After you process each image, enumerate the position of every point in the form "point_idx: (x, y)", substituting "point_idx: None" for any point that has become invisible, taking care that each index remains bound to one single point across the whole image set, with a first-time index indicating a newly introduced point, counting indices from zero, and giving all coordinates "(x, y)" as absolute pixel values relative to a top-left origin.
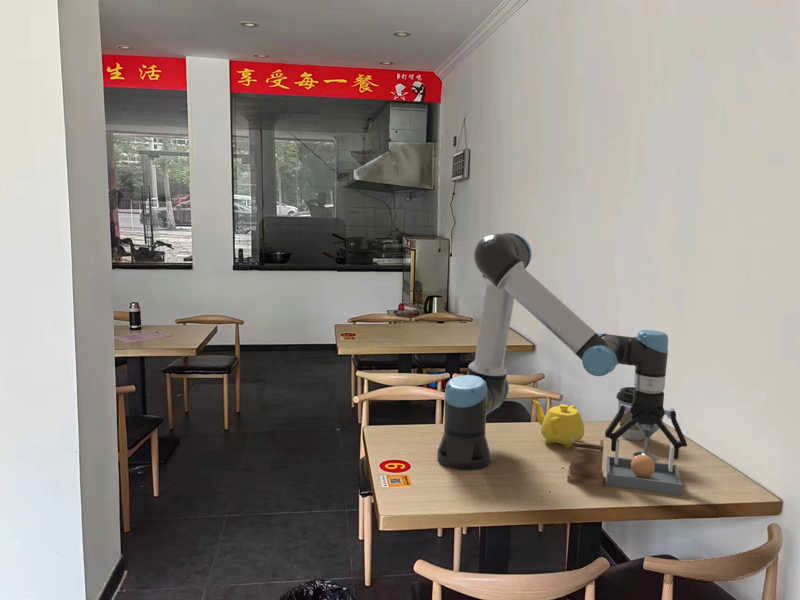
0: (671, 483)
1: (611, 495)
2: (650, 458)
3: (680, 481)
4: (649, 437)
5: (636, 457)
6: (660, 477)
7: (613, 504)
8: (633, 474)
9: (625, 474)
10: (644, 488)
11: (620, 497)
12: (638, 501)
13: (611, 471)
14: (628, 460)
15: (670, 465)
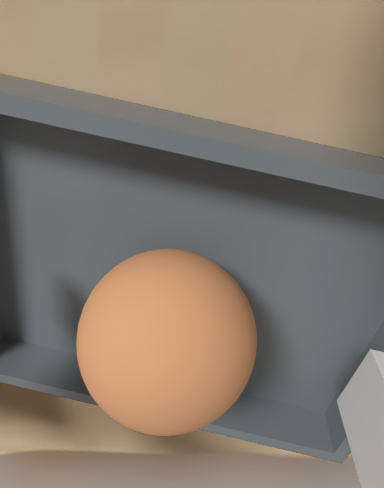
0: (289, 450)
1: (30, 404)
2: (212, 412)
3: None
4: None
5: (90, 393)
6: (301, 286)
7: (39, 448)
8: None
9: (85, 262)
10: None
11: (62, 416)
12: (125, 437)
13: (2, 228)
14: (95, 132)
15: (354, 452)
